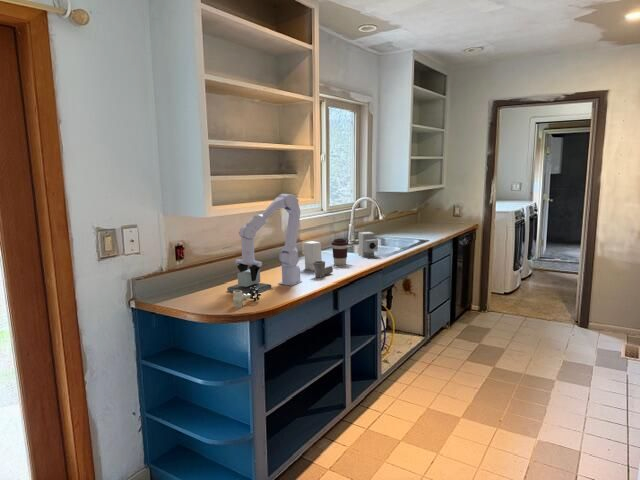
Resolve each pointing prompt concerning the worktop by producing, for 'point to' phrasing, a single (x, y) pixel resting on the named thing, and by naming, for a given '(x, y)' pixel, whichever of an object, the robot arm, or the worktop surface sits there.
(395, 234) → the worktop surface
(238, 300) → the valve
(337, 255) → the coffee cup
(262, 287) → the shallow gray tray
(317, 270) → the pipe
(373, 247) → the circuit breaker
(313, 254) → the skincare box
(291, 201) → the robot arm
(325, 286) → the worktop surface
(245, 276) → the block
